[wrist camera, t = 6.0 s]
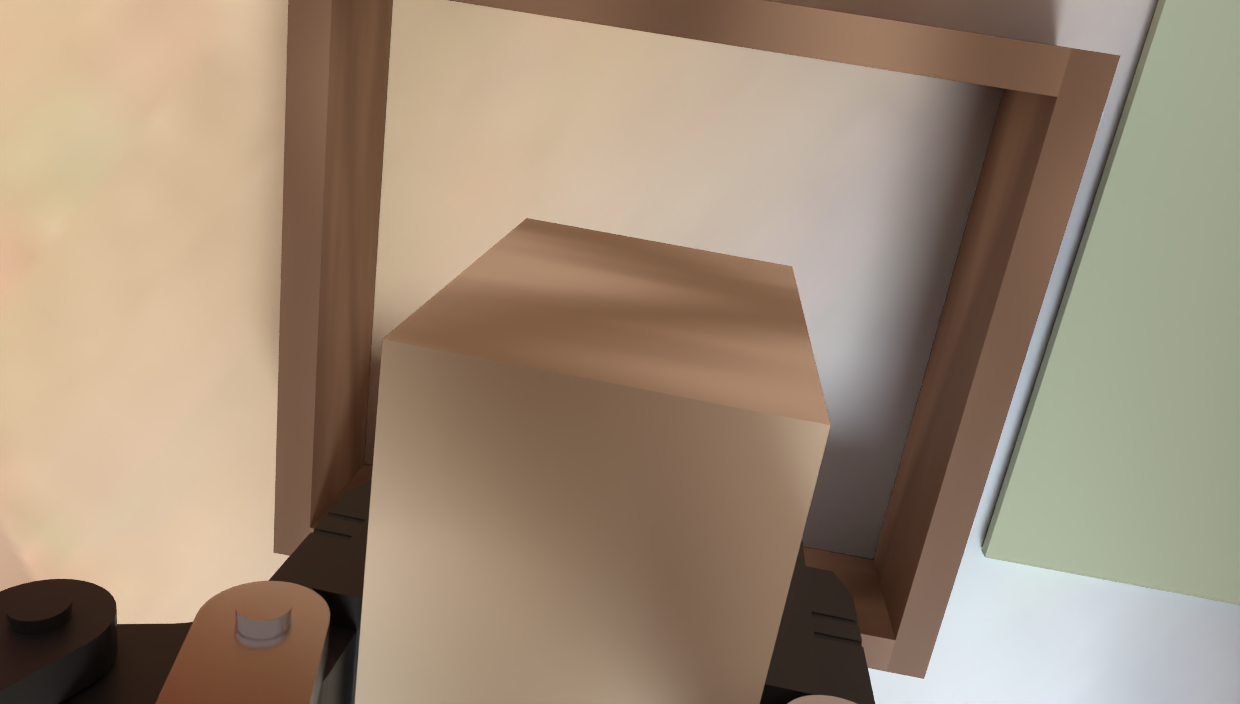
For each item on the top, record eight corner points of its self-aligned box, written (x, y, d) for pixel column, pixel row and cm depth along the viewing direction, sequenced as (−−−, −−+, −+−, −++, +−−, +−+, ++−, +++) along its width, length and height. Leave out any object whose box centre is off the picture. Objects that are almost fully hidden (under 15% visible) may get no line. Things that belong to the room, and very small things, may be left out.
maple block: (792, 266, 14) (830, 425, 8) (692, 704, 16) (668, 1056, 11) (526, 218, 14) (382, 338, 8) (471, 657, 17) (333, 977, 11)
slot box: (1056, 52, 23) (1120, 55, 19) (897, 593, 29) (923, 678, 25) (358, -57, 24) (290, -74, 20) (331, 486, 29) (273, 552, 26)
